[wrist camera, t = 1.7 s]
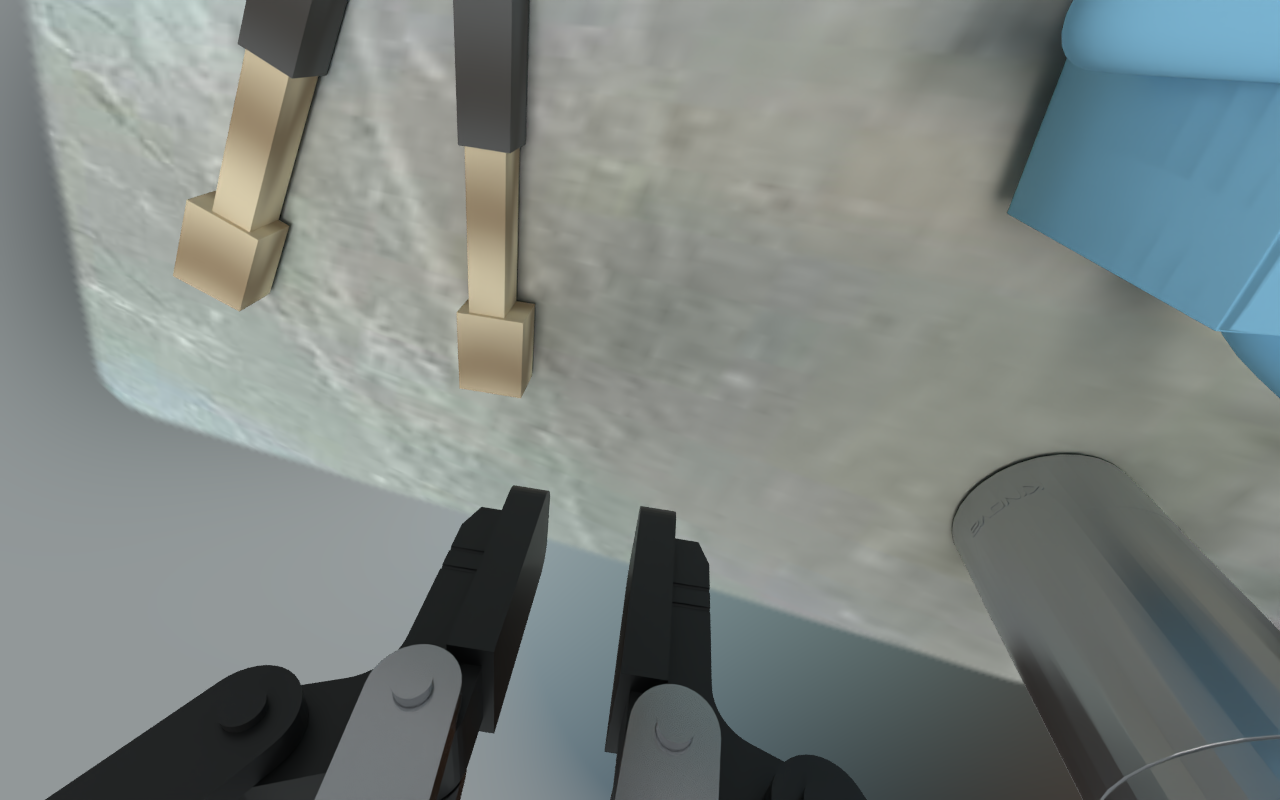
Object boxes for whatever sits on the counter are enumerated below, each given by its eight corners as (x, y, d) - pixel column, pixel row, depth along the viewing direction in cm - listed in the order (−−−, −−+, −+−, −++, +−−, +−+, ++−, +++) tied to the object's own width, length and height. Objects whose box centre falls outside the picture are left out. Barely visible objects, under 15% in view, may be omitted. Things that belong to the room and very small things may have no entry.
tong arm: (465, -82, 20) (439, -96, 18) (550, -68, 20) (534, -80, 18) (475, 365, 30) (459, 388, 28) (532, 374, 30) (520, 398, 28)
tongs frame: (354, -390, 17) (287, -474, 14) (534, -237, 18) (504, -286, 15) (212, 257, 28) (160, 281, 25) (329, 322, 29) (291, 350, 27)
